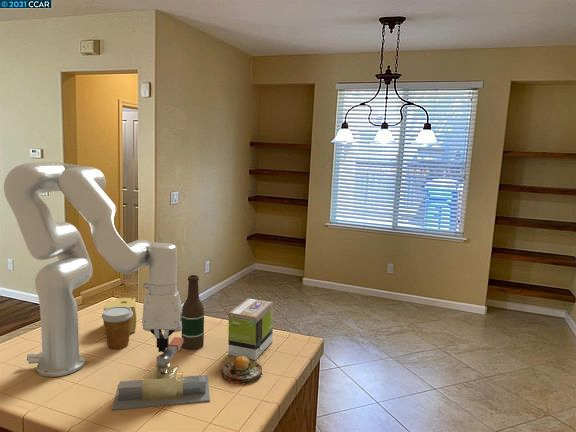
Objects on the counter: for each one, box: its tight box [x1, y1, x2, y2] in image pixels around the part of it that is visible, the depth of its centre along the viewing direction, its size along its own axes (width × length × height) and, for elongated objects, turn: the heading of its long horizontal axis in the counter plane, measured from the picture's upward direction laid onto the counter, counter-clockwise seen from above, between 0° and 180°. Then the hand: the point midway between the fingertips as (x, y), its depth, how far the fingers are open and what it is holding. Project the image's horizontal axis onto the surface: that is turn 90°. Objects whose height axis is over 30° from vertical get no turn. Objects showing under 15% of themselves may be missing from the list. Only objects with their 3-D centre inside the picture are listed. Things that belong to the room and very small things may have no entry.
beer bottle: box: [181, 274, 205, 351], centre depth 143 cm, size 8×8×24 cm
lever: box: [156, 336, 183, 369], centre depth 119 cm, size 15×3×2 cm, turn 176°
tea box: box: [227, 297, 274, 361], centre depth 143 cm, size 15×10×15 cm, turn 161°
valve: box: [117, 365, 206, 401], centre depth 114 cm, size 22×6×8 cm, turn 103°
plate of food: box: [221, 356, 263, 385], centre depth 127 cm, size 12×12×8 cm
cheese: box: [102, 297, 137, 336], centre depth 155 cm, size 10×11×10 cm
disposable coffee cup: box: [101, 306, 133, 351], centre depth 141 cm, size 10×10×12 cm
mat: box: [111, 374, 211, 411], centre depth 116 cm, size 24×13×1 cm, turn 103°
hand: (162, 349), depth 122 cm, fingers closed
